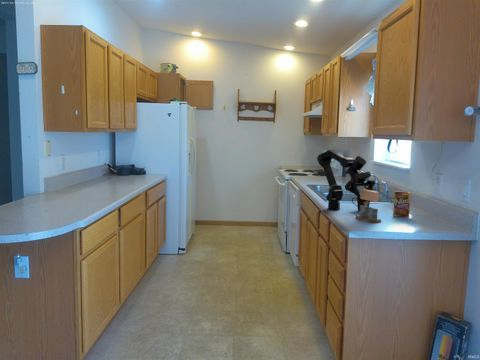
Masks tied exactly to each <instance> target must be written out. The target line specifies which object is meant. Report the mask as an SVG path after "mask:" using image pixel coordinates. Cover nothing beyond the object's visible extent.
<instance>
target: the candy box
mask: <svg viewBox="0 0 480 360" xmlns="http://www.w3.org/2000/svg"><path fill="white" fill-rule="evenodd" d="M411 197H412V191H401V190H395V191H394V197H393V209H392V210H393V211H392V216H393V217H401V218H408V219H409V217H410V209H411Z"/></svg>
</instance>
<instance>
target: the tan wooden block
mask: <svg viewBox="0 0 480 360" xmlns="http://www.w3.org/2000/svg"><path fill="white" fill-rule="evenodd" d="M379 193H380V192H379V191H374V190H373V191H371V190H366V188H361V189H360V194H361V195H360V196H361V197H360V199H364V200H368V201H370V202H372V203H379V195H380V194H379Z"/></svg>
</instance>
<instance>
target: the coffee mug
mask: <svg viewBox="0 0 480 360" xmlns="http://www.w3.org/2000/svg"><path fill="white" fill-rule="evenodd" d="M360 195H361V193H360ZM354 199H356V202H357V204H356V203H355V202H354V201H353V200H354ZM351 203H352V204H353V206H354V205H355V207H357V212H360V205H364V206H368V207H370V203H371V201H368V200H364V199H360V197H358V196H356V197H353V198H352V199H351Z"/></svg>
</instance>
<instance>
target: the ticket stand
mask: <svg viewBox="0 0 480 360" xmlns="http://www.w3.org/2000/svg"><path fill="white" fill-rule="evenodd" d="M356 218H357V220H361V221H363V222H366V223H370V224H375V223H377V224H378V223H381V222H382V219H381V218H378V208H375V207H371V206H369V207H368V206H364V205H360V211H359V213H358V215H355V219H356Z"/></svg>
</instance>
